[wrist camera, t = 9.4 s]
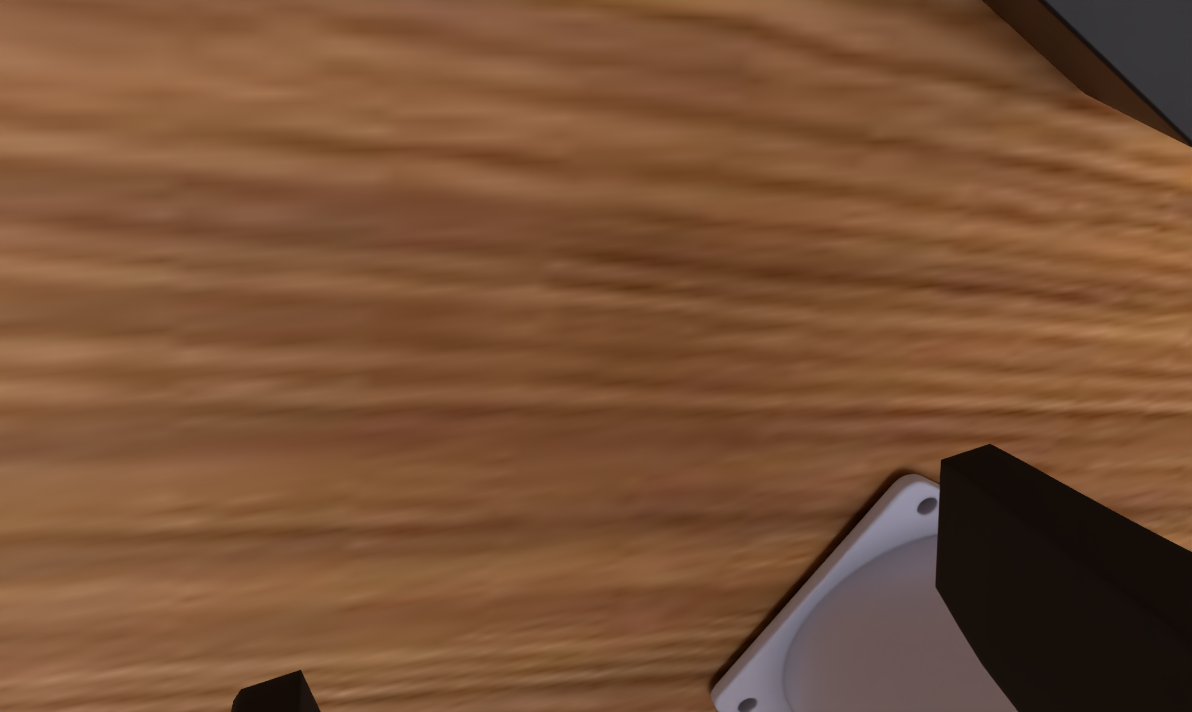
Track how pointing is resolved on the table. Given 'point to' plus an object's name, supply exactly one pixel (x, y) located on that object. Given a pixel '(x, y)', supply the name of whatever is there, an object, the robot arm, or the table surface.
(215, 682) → the table surface
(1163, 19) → the hob panel
